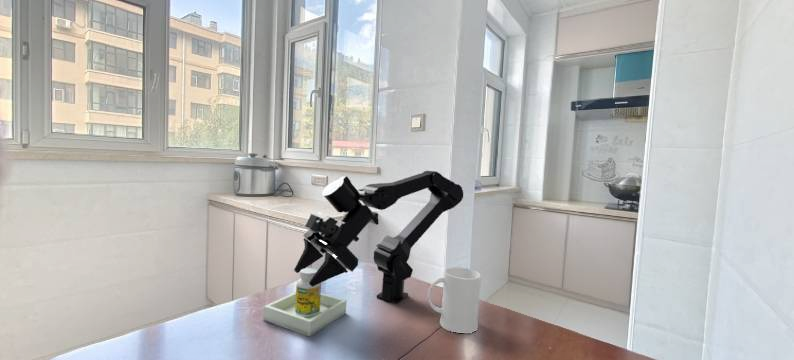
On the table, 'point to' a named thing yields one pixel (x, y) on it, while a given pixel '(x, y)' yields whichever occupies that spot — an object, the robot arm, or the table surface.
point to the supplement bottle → (307, 294)
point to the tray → (287, 318)
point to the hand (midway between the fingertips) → (302, 278)
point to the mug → (459, 299)
